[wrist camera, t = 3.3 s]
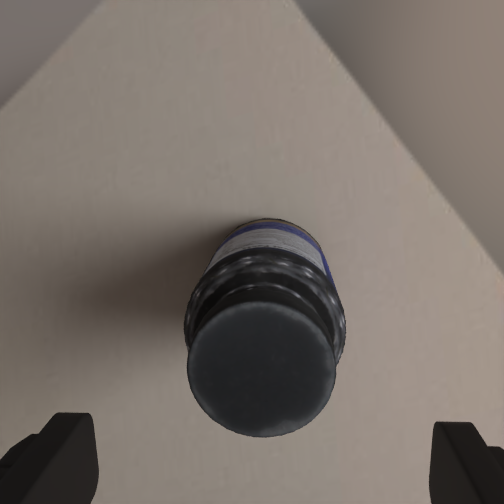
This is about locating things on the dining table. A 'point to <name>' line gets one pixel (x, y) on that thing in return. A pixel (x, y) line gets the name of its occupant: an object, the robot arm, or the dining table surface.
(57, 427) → the robot arm
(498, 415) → the dining table surface
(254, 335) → the pill bottle
